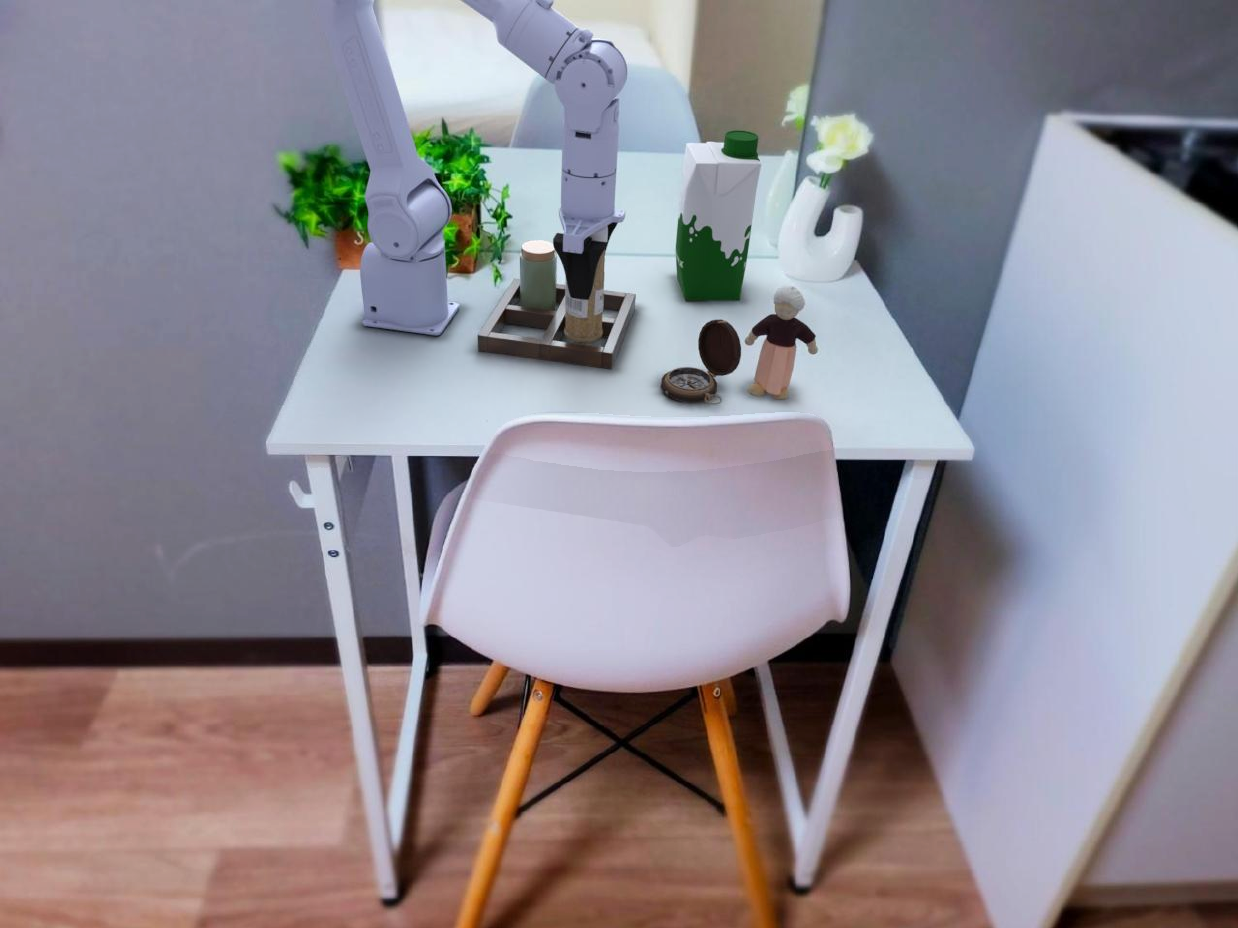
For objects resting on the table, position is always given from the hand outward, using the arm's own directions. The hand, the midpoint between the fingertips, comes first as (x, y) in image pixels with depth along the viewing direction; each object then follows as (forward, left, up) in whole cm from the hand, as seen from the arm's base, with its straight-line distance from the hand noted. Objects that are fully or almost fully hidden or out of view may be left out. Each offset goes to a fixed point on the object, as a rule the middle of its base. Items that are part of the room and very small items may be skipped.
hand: (584, 288), depth 110 cm
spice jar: (-7, +7, -7) cm, 13 cm away
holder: (-3, +4, -7) cm, 9 cm away
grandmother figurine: (+22, -4, -8) cm, 24 cm away
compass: (+14, -6, -8) cm, 18 cm away
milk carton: (+13, +20, -8) cm, 24 cm away
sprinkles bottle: (0, 0, -6) cm, 6 cm away
